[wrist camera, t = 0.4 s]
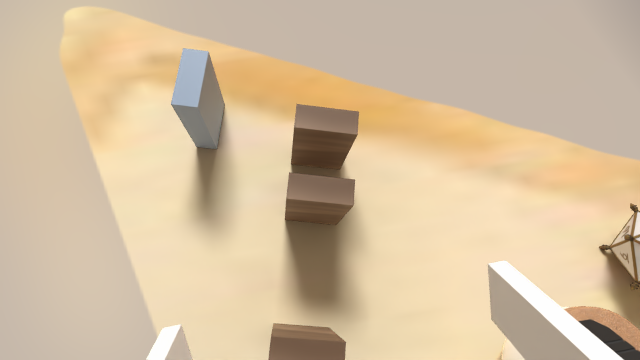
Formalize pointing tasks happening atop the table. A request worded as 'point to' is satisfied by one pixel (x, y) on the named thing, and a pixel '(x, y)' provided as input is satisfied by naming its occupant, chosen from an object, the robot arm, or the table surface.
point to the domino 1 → (198, 98)
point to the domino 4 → (305, 343)
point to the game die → (629, 247)
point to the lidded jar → (602, 316)
